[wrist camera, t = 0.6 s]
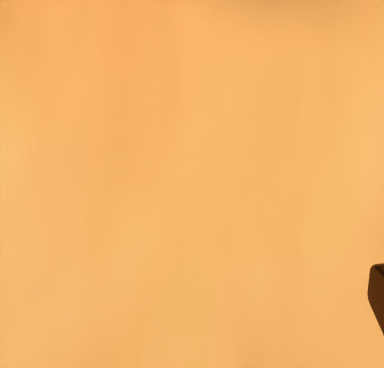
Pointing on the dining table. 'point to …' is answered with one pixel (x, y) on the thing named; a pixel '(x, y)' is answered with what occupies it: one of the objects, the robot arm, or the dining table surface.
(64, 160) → the dining table surface
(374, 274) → the robot arm
